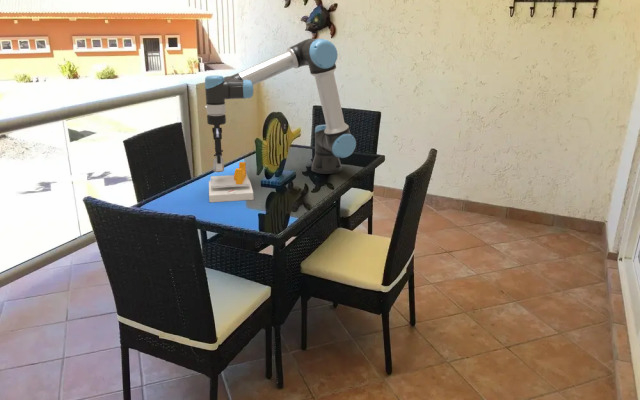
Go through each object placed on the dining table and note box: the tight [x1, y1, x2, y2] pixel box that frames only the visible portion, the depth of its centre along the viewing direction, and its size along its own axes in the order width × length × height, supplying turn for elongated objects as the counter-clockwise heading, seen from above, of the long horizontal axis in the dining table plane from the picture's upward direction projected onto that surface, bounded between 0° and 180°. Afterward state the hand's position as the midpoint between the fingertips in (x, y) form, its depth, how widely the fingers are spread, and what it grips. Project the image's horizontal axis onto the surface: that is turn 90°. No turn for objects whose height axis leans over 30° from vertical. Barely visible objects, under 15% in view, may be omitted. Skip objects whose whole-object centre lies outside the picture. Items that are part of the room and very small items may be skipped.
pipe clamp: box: [233, 161, 247, 184], centre depth 212 cm, size 12×4×6 cm, turn 0°
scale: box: [208, 173, 254, 203], centre depth 213 cm, size 18×20×6 cm
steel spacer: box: [212, 157, 225, 173], centre depth 210 cm, size 4×4×5 cm
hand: (219, 168), depth 211 cm, fingers closed on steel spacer, 4 cm apart
